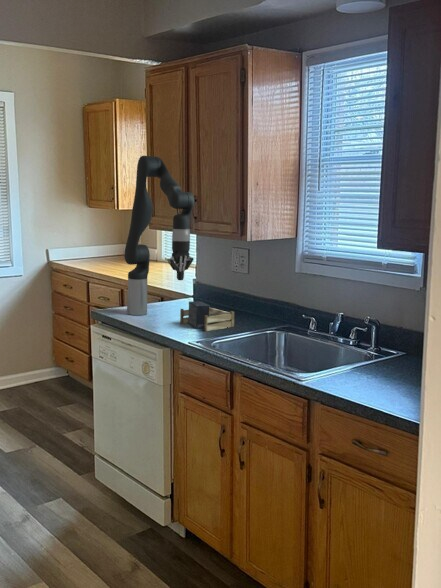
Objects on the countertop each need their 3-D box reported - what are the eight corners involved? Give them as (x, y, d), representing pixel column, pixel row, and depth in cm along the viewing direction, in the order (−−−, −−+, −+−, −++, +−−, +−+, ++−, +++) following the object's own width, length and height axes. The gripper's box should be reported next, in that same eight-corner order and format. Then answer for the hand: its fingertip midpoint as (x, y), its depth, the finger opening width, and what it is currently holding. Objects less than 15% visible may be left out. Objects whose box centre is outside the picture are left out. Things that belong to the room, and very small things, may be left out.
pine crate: (179, 323, 289) (180, 308, 287) (207, 319, 299) (207, 305, 298) (206, 331, 275) (206, 315, 274) (233, 326, 286) (234, 311, 284)
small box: (209, 328, 281) (210, 304, 280) (195, 329, 279) (196, 305, 277) (200, 323, 291) (201, 300, 289) (187, 324, 288) (188, 301, 287)
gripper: (187, 238, 277) (186, 277, 280) (163, 239, 269) (162, 280, 272) (198, 239, 272) (197, 280, 275) (173, 241, 263) (173, 282, 266)
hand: (180, 280), depth 273 cm, fingers closed
